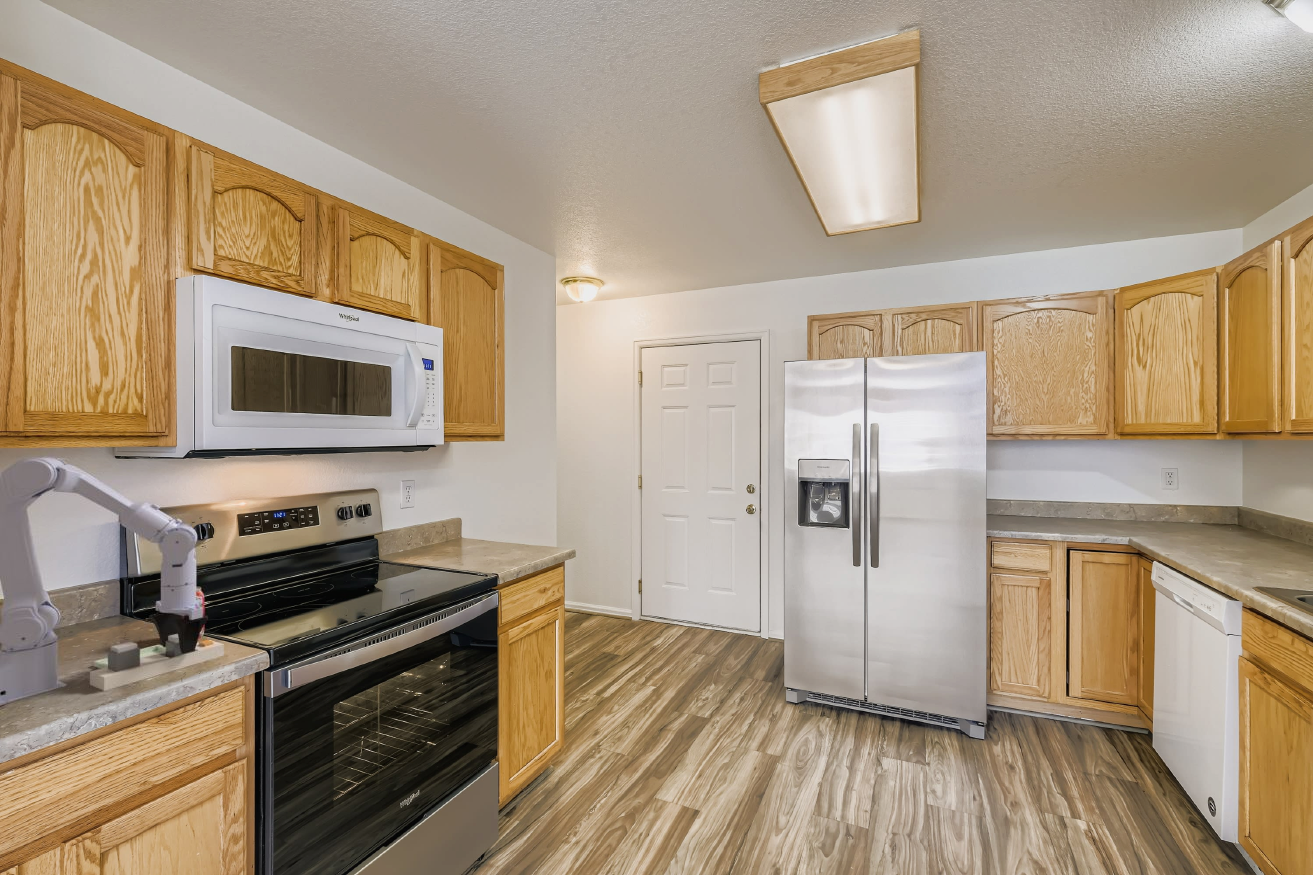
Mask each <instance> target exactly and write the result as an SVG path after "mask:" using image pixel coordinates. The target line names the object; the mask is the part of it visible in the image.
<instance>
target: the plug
mask: <svg viewBox="0 0 1313 875" xmlns="http://www.w3.org/2000/svg"><path fill="white" fill-rule="evenodd" d="M191 652H195V651H191ZM191 652H188V653H191ZM188 653H184V654H188ZM184 654H183V653H181V650H180V644H179V637H178V634H174V635H170V636H168V641H166V657H168V658H173V657H177V656H180V655H184Z"/></svg>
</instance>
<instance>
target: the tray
mask: <svg viewBox="0 0 1313 875" xmlns="http://www.w3.org/2000/svg"><path fill="white" fill-rule="evenodd" d="M165 651H166V647H165V648H164V647H163V646H162V644H156V645H152V646H148V647H144V648H140V658H143V657H147V656H150V655H154V654H158V653H162V652H165ZM93 667H95V668H97V669H102V668H106V667H108V657H105V658H102V659H98V660H97V659H96V660H93Z"/></svg>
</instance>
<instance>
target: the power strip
mask: <svg viewBox="0 0 1313 875" xmlns="http://www.w3.org/2000/svg"><path fill="white" fill-rule="evenodd" d="M140 649H141V648H140V647H139V646H138V643H137V642H133V641H127V642H123V643H119V644H115V645H111V646H110V649H109V650H107V658H108V667H106V668H102V669H100V668H97V669H96V670H91V671H90V672H89V685H90V686H92V687H93V688H96V689H98V690H101V691H103V692H106V691H110V690H114V689H116V688H119V687H123V686H127V685H129V684H133V683H137V682H141V681H143V680H147V679H150V678H154V677H157V676H161V675H164V674H166V673H171V672H175V671H176V670H181V669H184V668H188V667H192V666H195V665H197V664H201V663H204V662H207V661H212V660H215V659H218V658H221V657H225V644H224V643H222V642H217V641H214V640H211V639H205V640H203V641H199V642H197V645H196V648H195V652H191V653H188V654H184V655H180V656H177V657H173V658H168V657H166V651H165V652H162V653H158V654H154V655H150V656H147V657H143V658H140Z"/></svg>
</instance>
